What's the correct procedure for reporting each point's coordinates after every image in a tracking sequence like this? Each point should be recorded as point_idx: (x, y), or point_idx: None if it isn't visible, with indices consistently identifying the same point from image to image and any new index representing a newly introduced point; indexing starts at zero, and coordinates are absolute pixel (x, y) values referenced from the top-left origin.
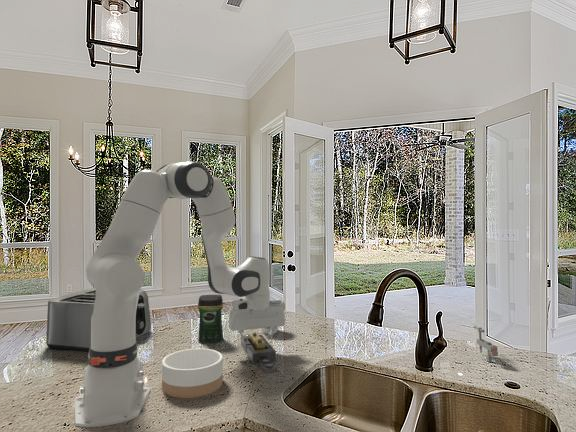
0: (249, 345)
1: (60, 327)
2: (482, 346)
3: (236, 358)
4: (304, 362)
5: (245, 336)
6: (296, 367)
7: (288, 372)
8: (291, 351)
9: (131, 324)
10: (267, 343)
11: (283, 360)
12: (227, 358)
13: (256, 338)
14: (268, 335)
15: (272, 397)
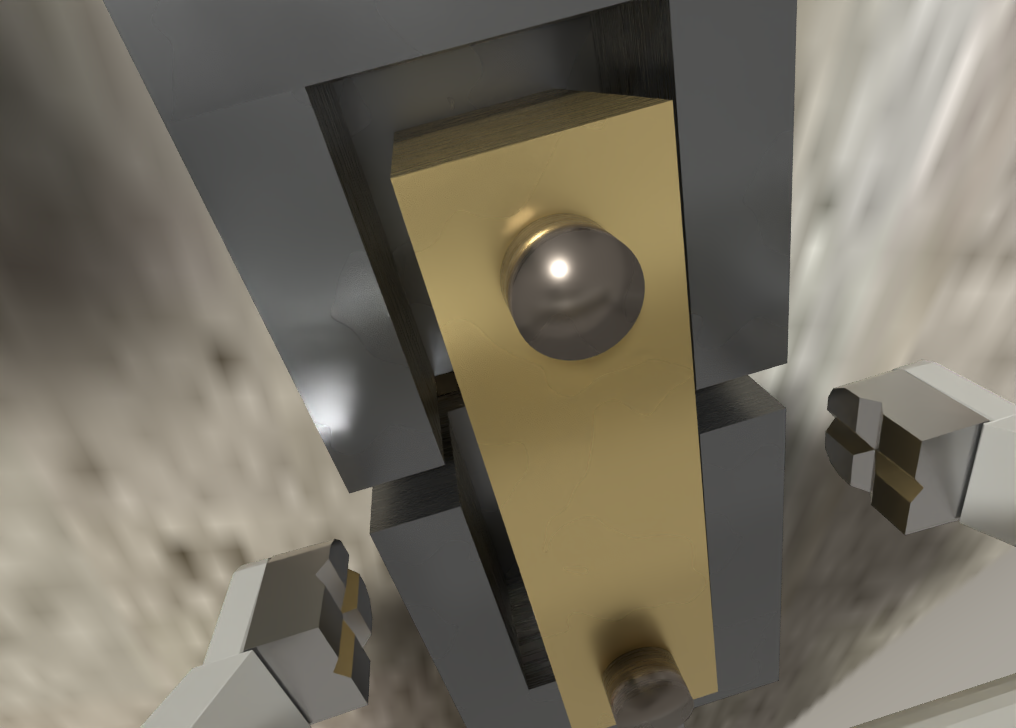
0: (428, 544)
1: None
2: None
3: (240, 475)
4: (957, 530)
5: (322, 665)
6: (846, 619)
7: (753, 692)
8: (1009, 229)
9: None
10: (760, 439)
11: (799, 500)
12: (98, 480)
13: (592, 520)
14: (897, 510)
15: None
